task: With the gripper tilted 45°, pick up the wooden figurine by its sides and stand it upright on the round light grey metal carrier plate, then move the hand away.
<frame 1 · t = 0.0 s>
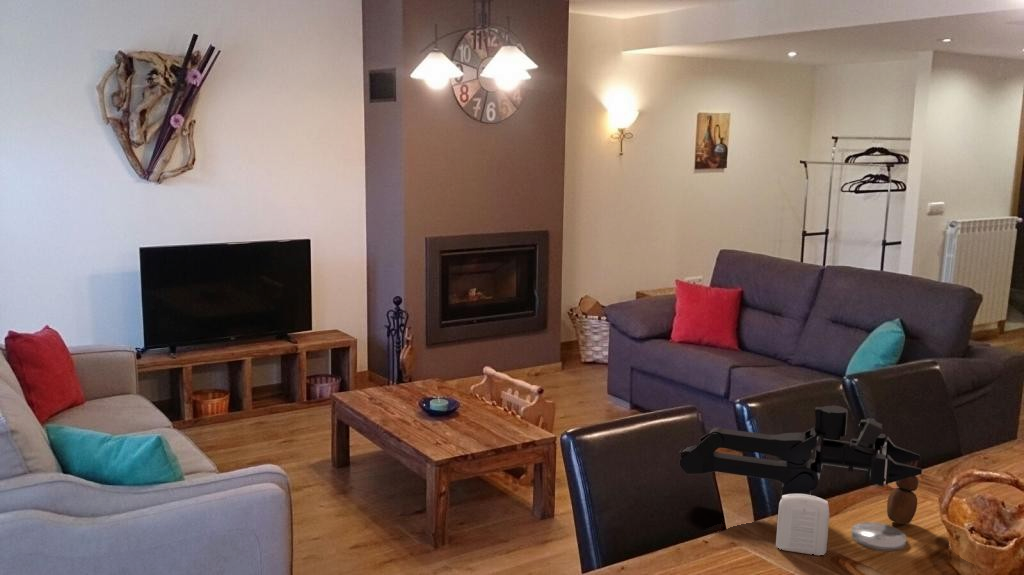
hand: (920, 464, 196), 17 cm above the table, tool horizontal, fingers open, 9 cm apart
wooden figurine: (897, 523, 204), on the table
white upright block: (800, 551, 191), on the table
carrier plate: (878, 539, 197), on the table
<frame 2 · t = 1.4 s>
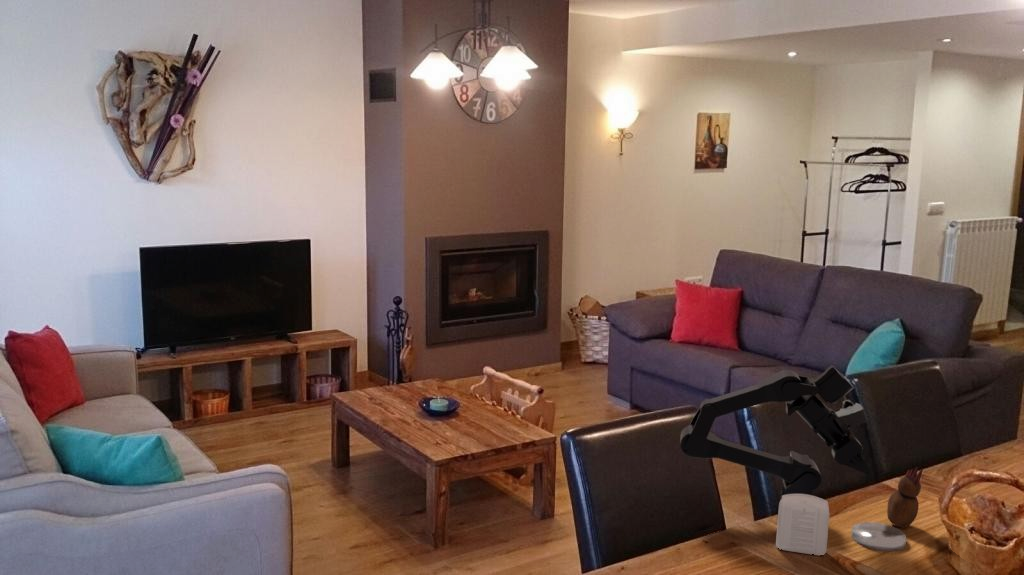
hand: (865, 465, 203), 13 cm above the table, tool tilted 45°, fingers open, 9 cm apart
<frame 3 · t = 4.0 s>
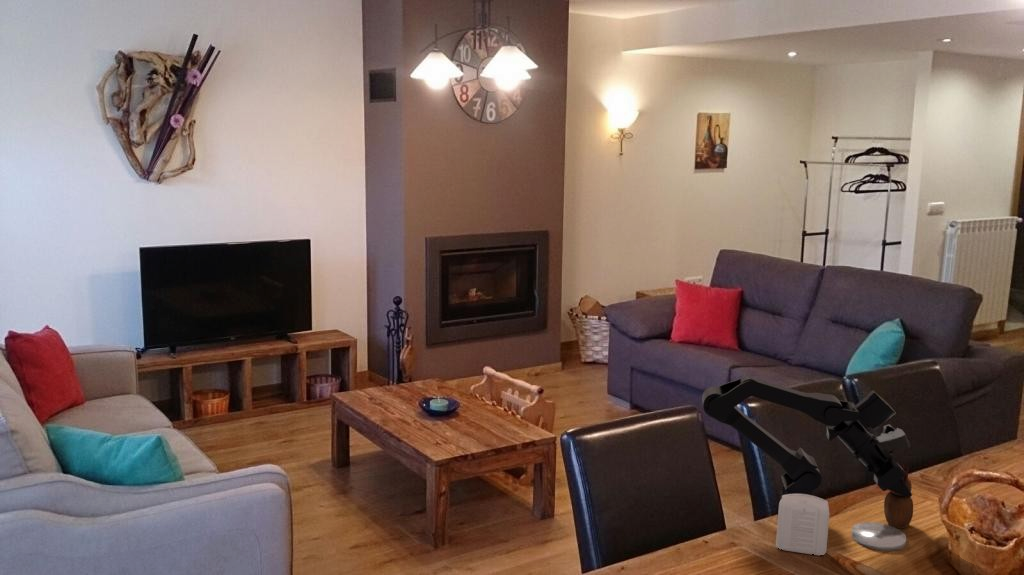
hand: (906, 491, 203), 8 cm above the table, tool tilted 45°, fingers open, 5 cm apart
wooden figurine: (897, 525, 204), on the table, touching gripper
everything else where it was.
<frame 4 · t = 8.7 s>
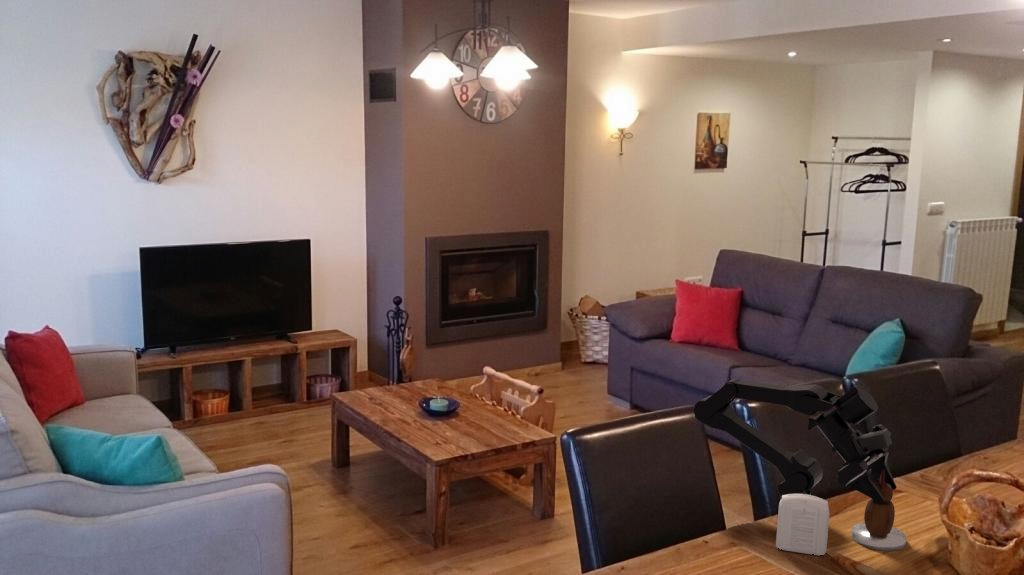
hand: (888, 495, 194), 11 cm above the table, tool tilted 45°, fingers open, 9 cm apart
wooden figurine: (878, 533, 197), point 1 cm above the table, touching carrier plate
everything else where it was.
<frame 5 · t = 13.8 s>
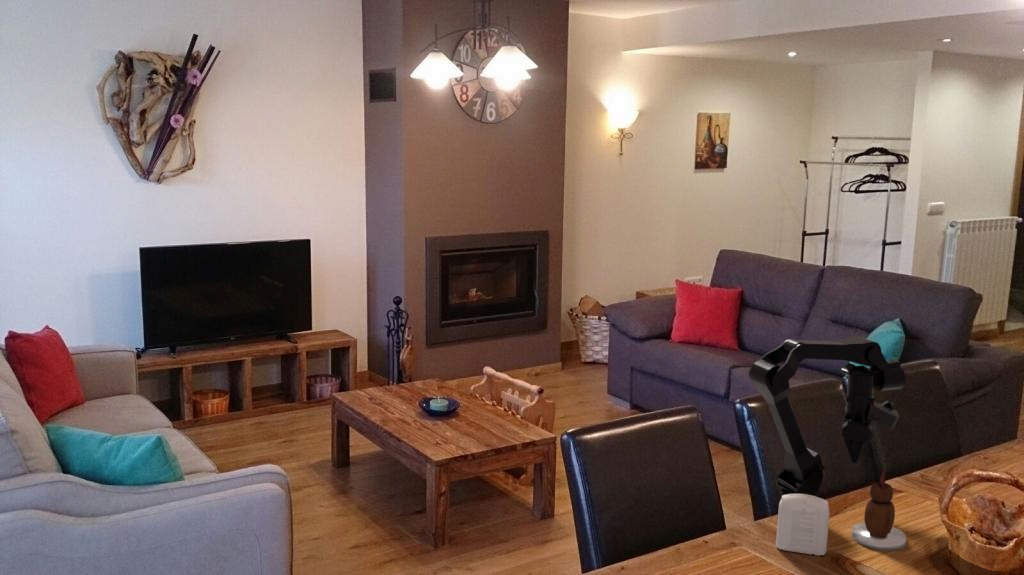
hand: (855, 456, 210), 13 cm above the table, tool pointing down, fingers open, 9 cm apart
nothing on the table moved.
at the end: wooden figurine inside the target area on the carrier plate (0.1 cm from its centre), point 1.3 cm above the carrier plate's base; wooden figurine tilted 0°; the gripper is holding nothing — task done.
